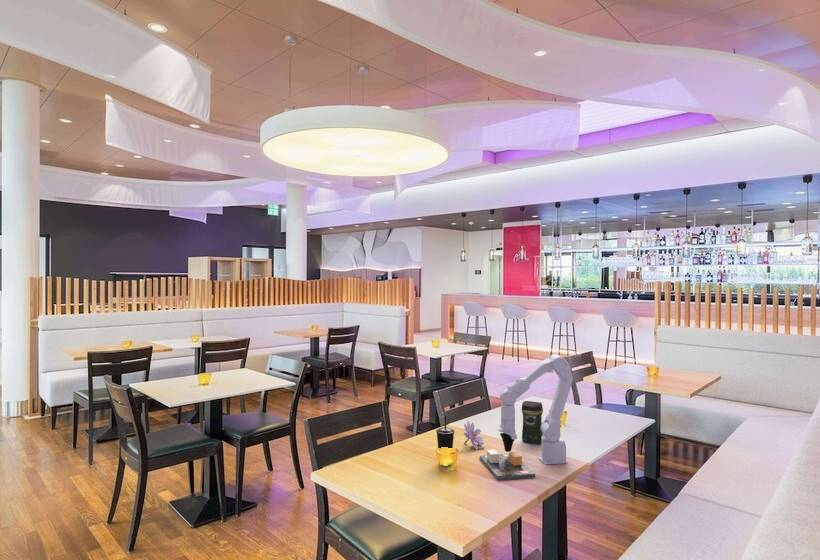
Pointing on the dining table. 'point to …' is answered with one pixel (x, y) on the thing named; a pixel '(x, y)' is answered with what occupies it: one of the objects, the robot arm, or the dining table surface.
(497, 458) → the switch
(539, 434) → the coffee jar
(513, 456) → the plain orange cube
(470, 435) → the water lily
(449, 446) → the drinking cup
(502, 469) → the breaker panel
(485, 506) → the dining table surface
